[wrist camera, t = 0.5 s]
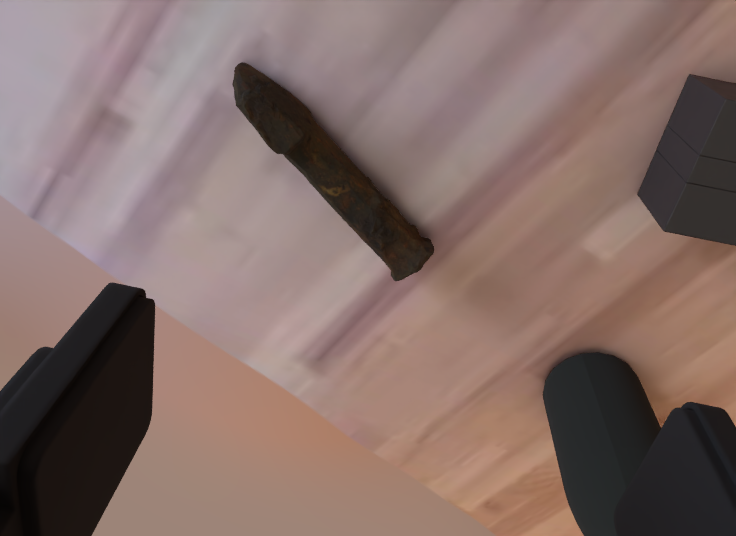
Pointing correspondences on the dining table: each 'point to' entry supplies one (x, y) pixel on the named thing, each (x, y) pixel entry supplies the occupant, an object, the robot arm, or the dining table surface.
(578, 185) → the dining table surface
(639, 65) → the dining table surface
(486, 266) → the dining table surface
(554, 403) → the wine bottle
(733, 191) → the rack
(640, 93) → the dining table surface
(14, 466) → the robot arm
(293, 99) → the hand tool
